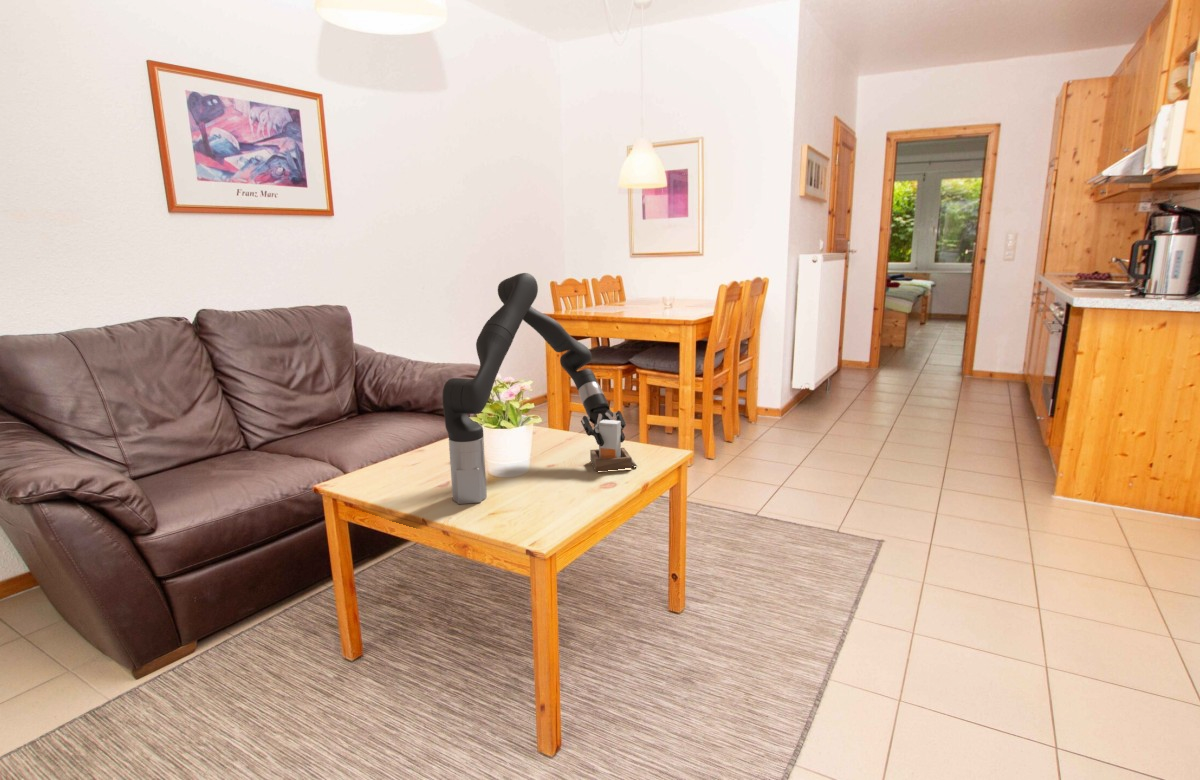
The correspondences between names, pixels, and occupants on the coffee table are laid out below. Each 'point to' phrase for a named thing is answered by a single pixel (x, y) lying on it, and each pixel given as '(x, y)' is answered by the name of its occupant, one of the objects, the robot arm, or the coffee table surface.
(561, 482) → the coffee table surface
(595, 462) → the box
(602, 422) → the skincare box
